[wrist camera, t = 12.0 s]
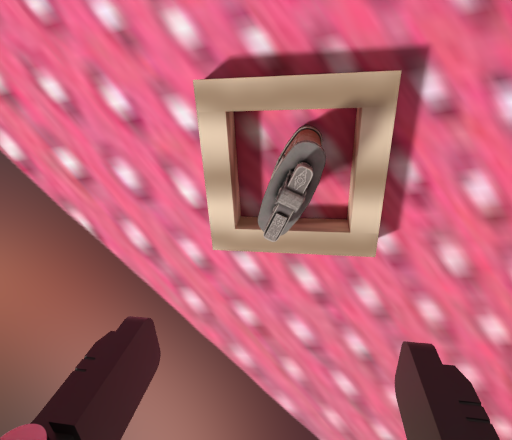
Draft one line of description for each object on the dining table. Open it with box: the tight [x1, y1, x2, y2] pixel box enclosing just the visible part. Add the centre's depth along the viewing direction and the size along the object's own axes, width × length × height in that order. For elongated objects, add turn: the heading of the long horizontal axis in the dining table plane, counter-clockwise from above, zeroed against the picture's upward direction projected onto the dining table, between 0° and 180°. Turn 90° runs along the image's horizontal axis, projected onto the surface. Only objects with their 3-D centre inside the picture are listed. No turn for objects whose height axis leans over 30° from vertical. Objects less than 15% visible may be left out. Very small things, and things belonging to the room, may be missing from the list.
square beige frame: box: [193, 70, 402, 257], centre depth 29 cm, size 16×16×3 cm
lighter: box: [258, 126, 326, 242], centre depth 26 cm, size 8×3×10 cm, turn 157°
